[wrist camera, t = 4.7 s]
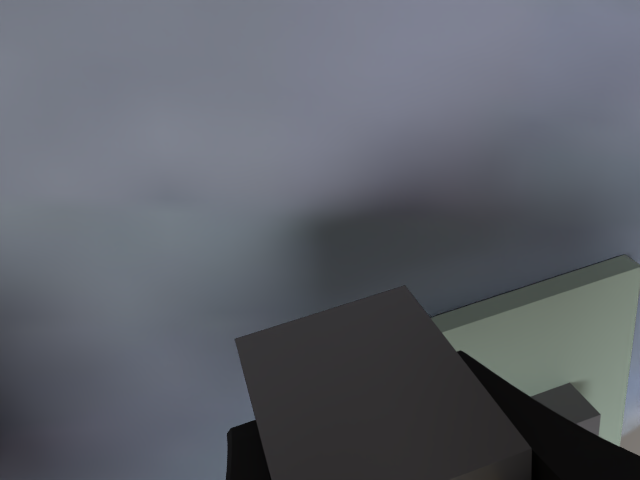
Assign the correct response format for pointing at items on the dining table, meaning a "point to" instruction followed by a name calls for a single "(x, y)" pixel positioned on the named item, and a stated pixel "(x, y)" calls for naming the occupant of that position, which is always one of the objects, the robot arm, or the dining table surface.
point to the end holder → (560, 341)
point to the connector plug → (375, 399)
